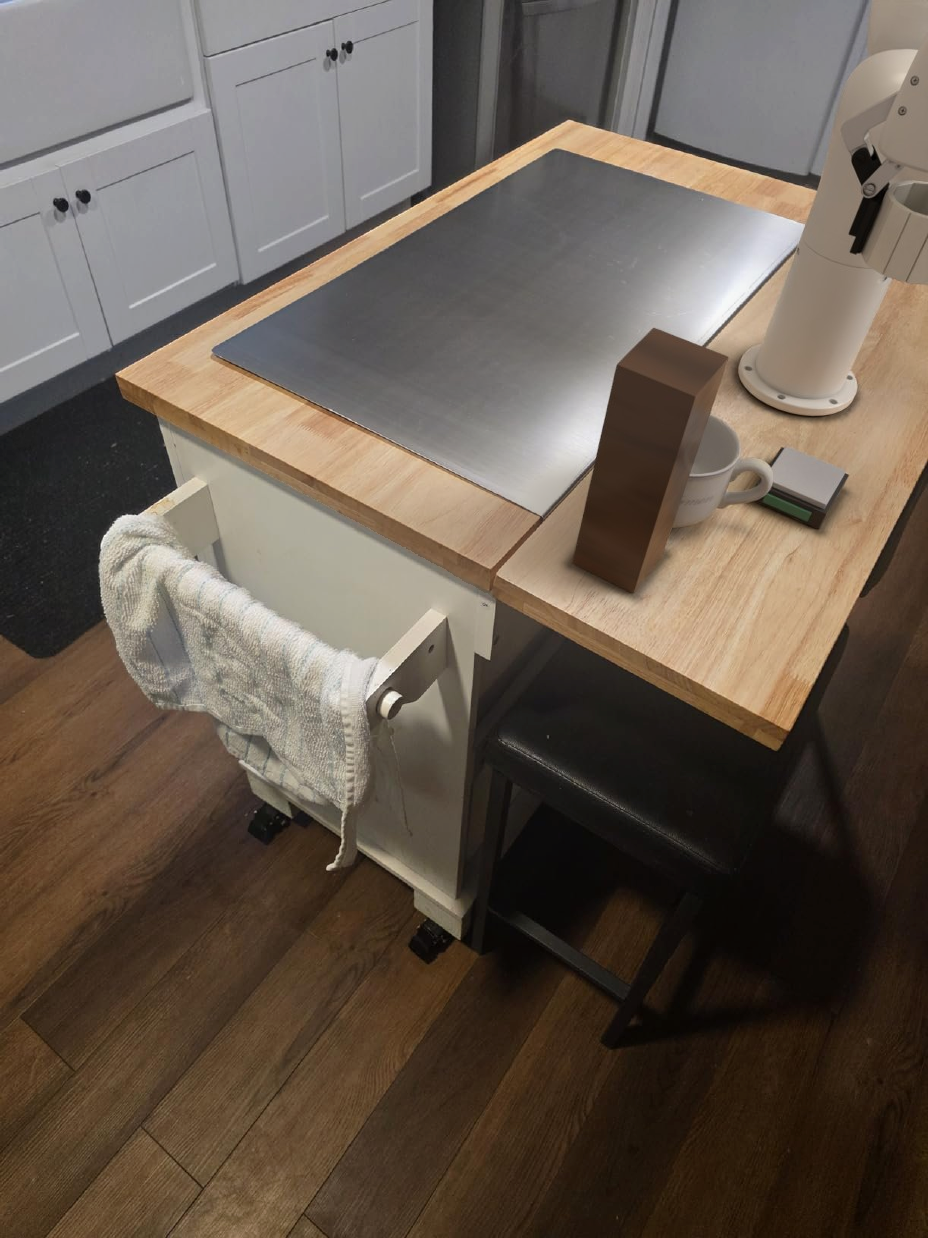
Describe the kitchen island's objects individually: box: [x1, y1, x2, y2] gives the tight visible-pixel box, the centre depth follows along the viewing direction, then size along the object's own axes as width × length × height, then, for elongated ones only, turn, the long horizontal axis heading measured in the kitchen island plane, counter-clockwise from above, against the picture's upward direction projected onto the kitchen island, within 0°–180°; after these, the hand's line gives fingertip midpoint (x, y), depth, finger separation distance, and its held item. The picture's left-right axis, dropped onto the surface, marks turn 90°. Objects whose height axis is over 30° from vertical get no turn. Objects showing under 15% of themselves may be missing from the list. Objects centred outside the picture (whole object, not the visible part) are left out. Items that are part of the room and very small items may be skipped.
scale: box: [754, 445, 850, 530], centre depth 82 cm, size 7×7×3 cm
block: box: [571, 327, 730, 594], centre depth 69 cm, size 6×6×20 cm
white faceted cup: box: [861, 180, 928, 286], centre depth 64 cm, size 6×6×5 cm
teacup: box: [672, 413, 773, 529], centre depth 78 cm, size 14×11×8 cm
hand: (906, 260), depth 65 cm, fingers closed on white faceted cup, 6 cm apart
